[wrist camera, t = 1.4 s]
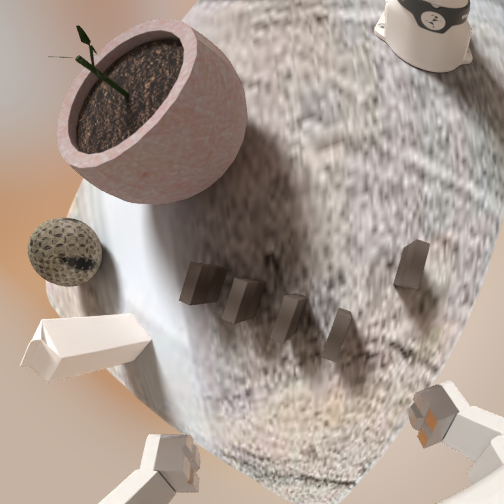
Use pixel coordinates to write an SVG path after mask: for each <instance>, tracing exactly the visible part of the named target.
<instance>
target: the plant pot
mask: <svg viewBox="0 0 504 504" xmlns="http://www.w3.org/2000/svg"><path fill="white" fill-rule="evenodd" d="M76 27H77V30H78V33H79V36H80V39H81V42H83V43H86V44H88V45H89V49H90V56H91V60H90V61H89V62H88V61H86V60H85V59H84V58H82V57H81V56H80V55H79V56H77V57H76V59H75V60H76V61H77V62H78V63H80V64H81V65H83V66H84V69H83V70H82V71H81V73H80V74H79V75H78V77H77V78H76V80H75V82H74V83H73V85H72V87H71V88H70V90H69V92H68V94H67V96H66V99H65V101H64V103H63V106H62V109H61V112H60V116H59V121H58V125H57V143H58V147H59V151H60V154H61V156H62V157H63V158H64V159H65V160H66V162H67V163H68V164H69V165H70V166H71V167H72V168H73V169H74V170H75V171H76V172H78V173H79V174H80V175H81V176H82V177H83V178H85V179H86V180H87V181H88V182H90V183H91V184H92V185H94V186H95V187H97V188H99V189H100V190H102V191H104V192H106V193H108V194H110V195H113V196H115V197H117V198H120V199H122V200H124V201H127V202H131V203H138V204H157V205H162V204H169V203H173V202H177V201H180V200H184V199H188V198H190V197H192V196H194V195H196V194H198V193H200V192H202V191H204V190H206V189H207V188H209V187H210V186H211V185H212V184H213V183H215V182H216V181H217V180H218V179H219V178H220V177H222V176H223V175H224V173H225V172H226V171H227V169H228V168H229V167H230V165H231V164H232V163H233V161H234V160H235V158H236V156H237V154H238V152H239V150H240V147H241V145H242V143H243V141H244V135H245V130H246V125H247V107H246V99H245V92H244V88H243V85H242V82H241V80H240V78H239V77H238V75H237V73H236V71H235V69H234V67H233V66H232V64H231V62H230V61H229V59H228V58H227V57H226V56H225V54H224V53H223V52H222V51H221V50H220V49H219V48H218V47H217V46H215V45H214V44H213V43H212V42H211V41H210V40H208V39H207V38H206V37H204V36H203V35H202V34H200V33H199V32H197V31H196V30H194V29H193V28H192V27H190V26H189V25H187V24H186V23H184V22H182V21H181V20H175V19H169V18H166V19H158V20H151V21H148V22H146V23H143V24H140V25H137V26H135V27H133V28H131V29H129V30H127V31H126V32H124V33H122V34H120V35H119V36H117V37H116V38H115V39H113V40H112V41H111V42H109V43H108V44H107V45H105V46H104V47H103V48H102V49H101V50H100V51H99V52H98V53H96V51H95V49H94V48H93V46H90V40H89V38H88V37H87V35H86V33H85V32H84V30H83V29H82V28H81V27H80V26H76ZM93 51H94V52H95V53H96V55H95V56H94V57H93ZM63 58H65V57H63ZM66 58H67V57H66Z"/></svg>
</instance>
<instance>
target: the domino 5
mask: <svg viewBox="0 0 504 504" xmlns="http://www.w3.org/2000/svg"><path fill="white" fill-rule="evenodd" d="M429 246H430V244H429V243H427V242H424V241H421V240H418V239H417V240H415V241H414V242H412V243H411V244H409V245H408V246H406V247H405V248H404V249H403V253H402V256H401V260H400V264H399V267H398V271H397V274H396V277H395V281H394V284H393V285H395V286H398V287H402V288H406V289H418V287H419V284H420V281H421V277H422V274H423V270H424V266H425V262H426V259H427V255H428V251H429Z"/></svg>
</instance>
